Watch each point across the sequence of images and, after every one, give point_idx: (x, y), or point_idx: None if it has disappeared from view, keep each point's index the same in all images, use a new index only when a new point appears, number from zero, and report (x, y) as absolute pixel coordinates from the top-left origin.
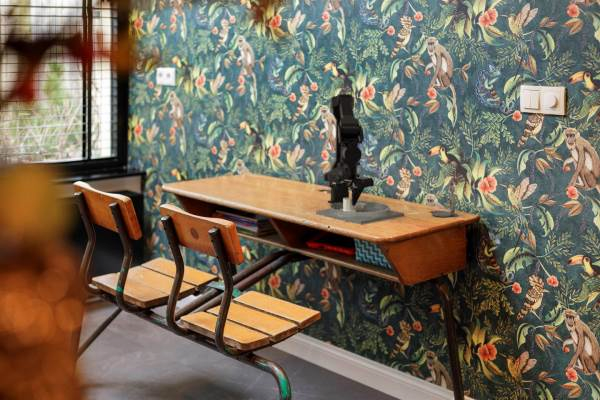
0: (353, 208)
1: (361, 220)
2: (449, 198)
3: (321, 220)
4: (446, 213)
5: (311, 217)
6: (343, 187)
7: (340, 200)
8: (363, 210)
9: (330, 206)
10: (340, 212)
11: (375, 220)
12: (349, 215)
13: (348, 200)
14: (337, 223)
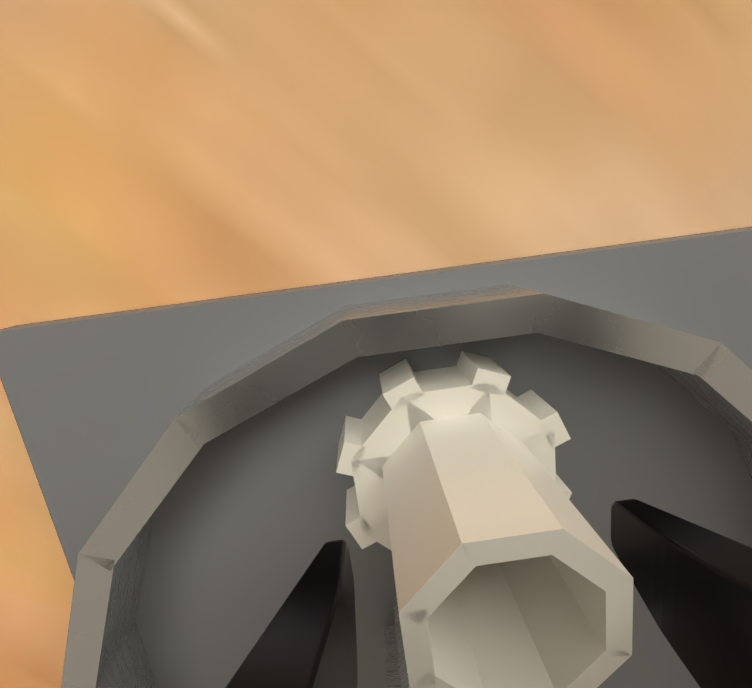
0: None
1: (45, 378)
2: None
3: (485, 21)
4: None
5: (716, 23)
6: None
7: (669, 518)
8: (395, 655)
9: (750, 371)
10: (407, 307)
11: None
12: (264, 359)
13: (425, 565)
14: (211, 99)
